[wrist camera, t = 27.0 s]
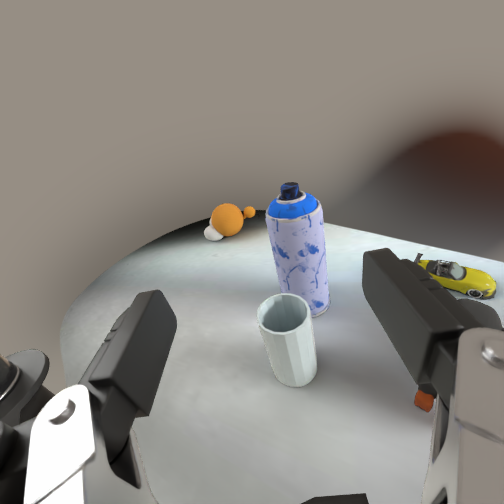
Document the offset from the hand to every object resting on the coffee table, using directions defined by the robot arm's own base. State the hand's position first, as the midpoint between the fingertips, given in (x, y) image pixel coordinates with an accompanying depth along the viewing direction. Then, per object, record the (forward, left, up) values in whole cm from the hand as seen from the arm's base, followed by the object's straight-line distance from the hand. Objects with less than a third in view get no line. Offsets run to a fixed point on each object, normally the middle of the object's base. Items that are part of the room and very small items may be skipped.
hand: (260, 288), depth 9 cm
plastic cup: (+7, +8, -23) cm, 26 cm away
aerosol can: (+17, +14, -24) cm, 32 cm away
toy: (+25, +46, -24) cm, 58 cm away
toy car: (+33, -1, -24) cm, 41 cm away
